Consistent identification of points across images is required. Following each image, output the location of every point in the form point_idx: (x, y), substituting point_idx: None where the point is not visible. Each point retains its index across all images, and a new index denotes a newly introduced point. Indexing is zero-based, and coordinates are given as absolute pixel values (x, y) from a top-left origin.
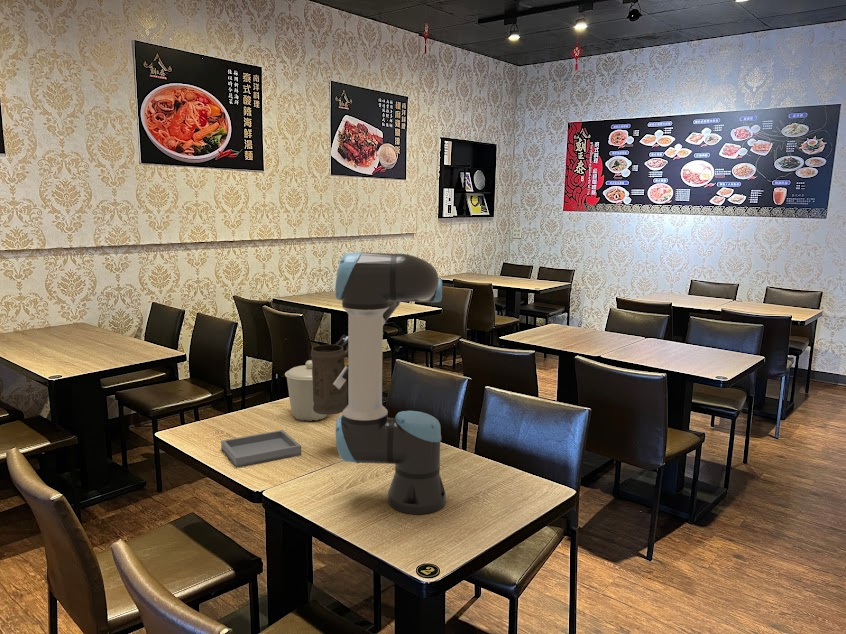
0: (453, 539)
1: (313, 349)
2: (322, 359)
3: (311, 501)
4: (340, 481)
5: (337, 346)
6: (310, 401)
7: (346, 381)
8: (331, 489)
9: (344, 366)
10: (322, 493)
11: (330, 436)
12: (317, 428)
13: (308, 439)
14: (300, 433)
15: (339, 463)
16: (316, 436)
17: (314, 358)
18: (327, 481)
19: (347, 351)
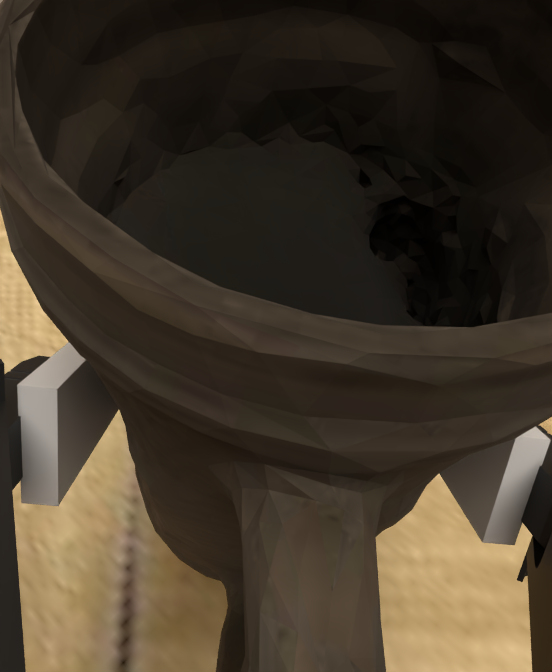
0: None
1: (528, 13)
2: (192, 34)
3: (4, 224)
4: (16, 353)
5: (450, 349)
6: None
7: (160, 519)
8: (3, 299)
9: (135, 445)
10: (10, 268)
11: (393, 632)
12: (522, 657)
13: (417, 525)
14: (500, 545)
15: (127, 450)
16: (430, 577)
17: (330, 39)
18: (55, 326)
19: (272, 663)
